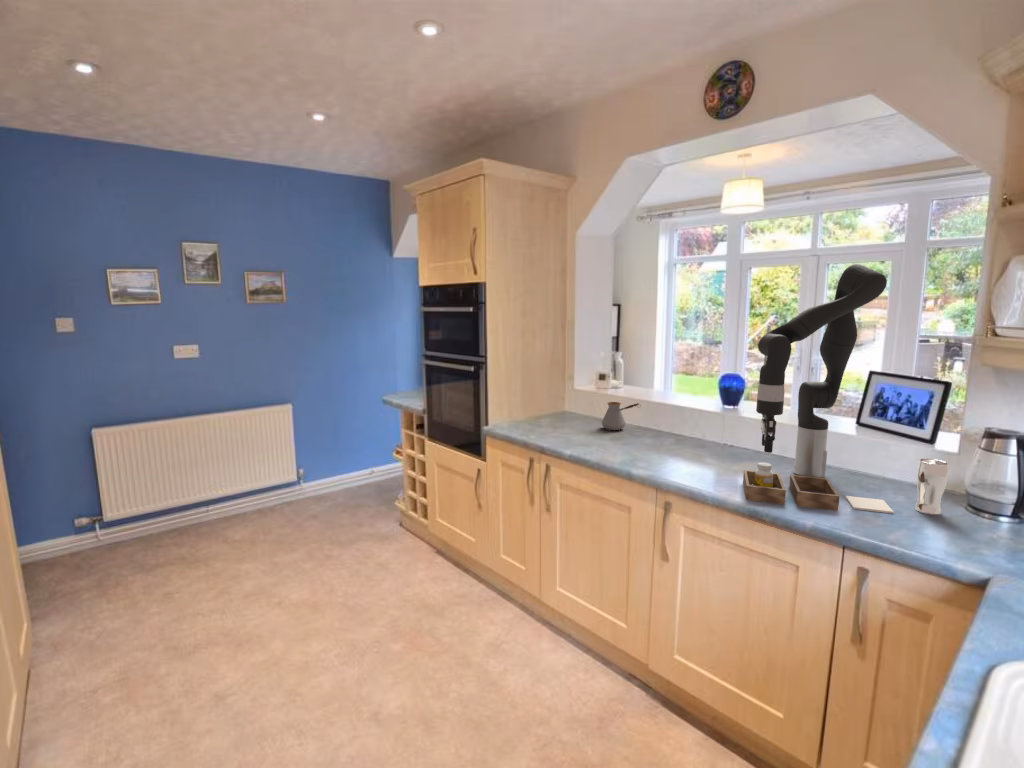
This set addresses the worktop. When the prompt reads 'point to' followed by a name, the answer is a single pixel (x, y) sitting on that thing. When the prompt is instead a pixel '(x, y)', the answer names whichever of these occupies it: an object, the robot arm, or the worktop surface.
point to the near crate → (810, 498)
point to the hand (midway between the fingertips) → (766, 448)
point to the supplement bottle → (763, 475)
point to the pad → (869, 504)
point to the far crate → (764, 489)
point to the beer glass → (931, 485)
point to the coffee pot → (615, 416)
